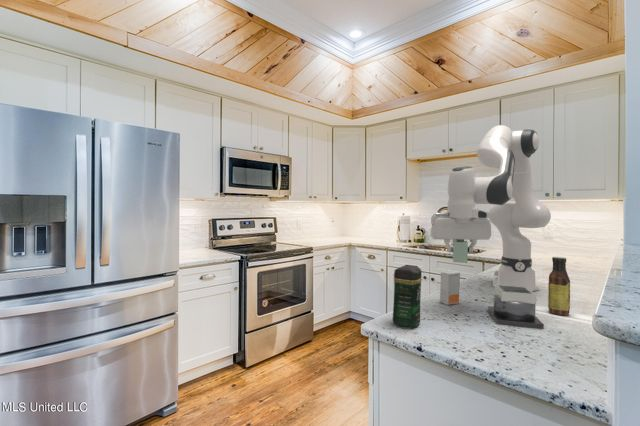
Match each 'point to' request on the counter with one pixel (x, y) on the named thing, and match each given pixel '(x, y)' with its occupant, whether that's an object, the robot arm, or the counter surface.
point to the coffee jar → (407, 296)
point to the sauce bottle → (559, 288)
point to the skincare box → (449, 287)
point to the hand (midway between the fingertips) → (460, 252)
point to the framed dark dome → (515, 307)
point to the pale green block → (460, 251)
